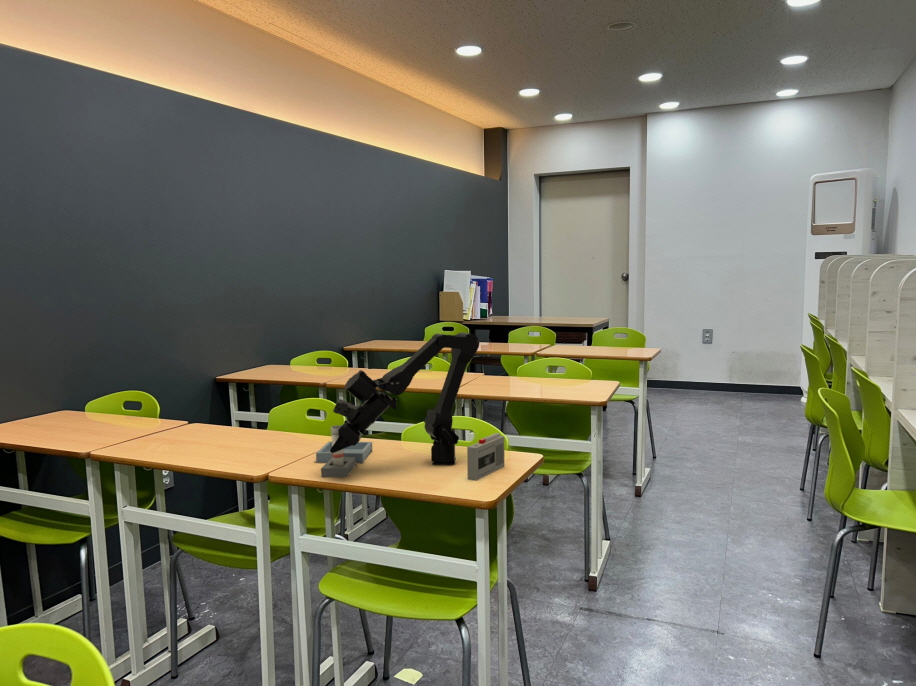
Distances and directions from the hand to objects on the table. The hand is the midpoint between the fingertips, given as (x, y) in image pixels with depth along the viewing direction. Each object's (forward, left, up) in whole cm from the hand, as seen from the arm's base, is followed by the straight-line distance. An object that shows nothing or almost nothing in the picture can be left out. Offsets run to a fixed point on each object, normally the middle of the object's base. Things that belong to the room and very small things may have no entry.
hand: (332, 449), depth 184 cm
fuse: (-1, 0, -7) cm, 7 cm away
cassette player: (-43, -1, -7) cm, 44 cm away
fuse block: (-1, -1, -7) cm, 7 cm away
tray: (+1, -16, -7) cm, 17 cm away
